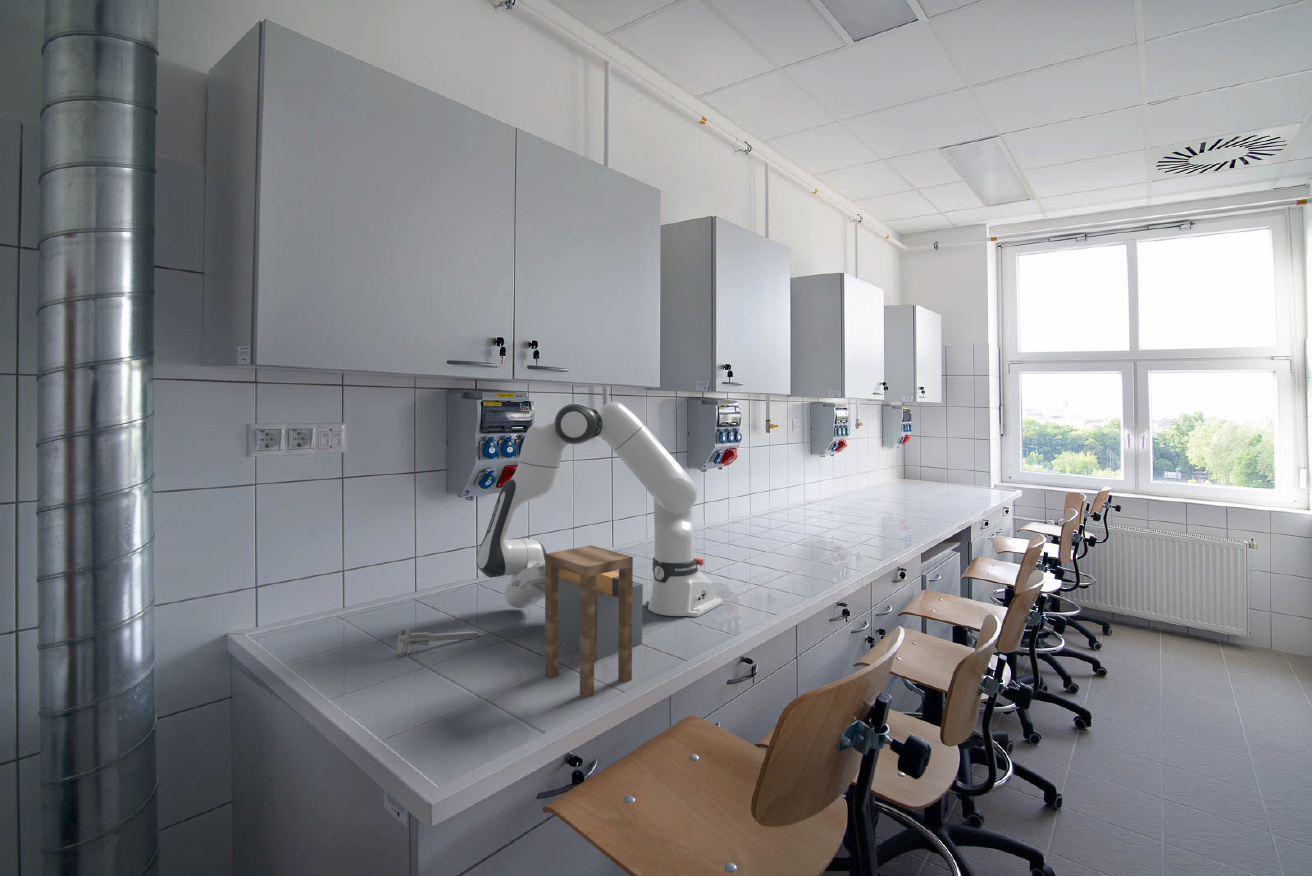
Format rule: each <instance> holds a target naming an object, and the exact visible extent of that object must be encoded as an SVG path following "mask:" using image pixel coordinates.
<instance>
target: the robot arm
mask: <svg viewBox="0 0 1312 876" xmlns="http://www.w3.org/2000/svg"><path fill="white" fill-rule="evenodd" d="M597 437H598V438H600V439H602V440H603V441H604V442H605V443H607V445H609V447H610V448H611V450H612V451H614V452H615V454H616V455H617V456H618V457H619V459H620V460H621V461H622V462H623V463H624V464H625V465H626V466H627V468H628V469H629V470H630V471H631V472H632V474H633V475H634V476H635V477H636V478H637V480H639V482H640V483H641V484H642V486H644V488H645V489H646V491H648V493H649V494H650V495H651V496H652V497H653V515H654V516H653V519H654V520H653V522H654V526H653V527H654V545H653V546H654V547H653V548H654V557H653V558H652V573H653V575H652V582H651V587H650V588H651V590H650V596H649V597H648V606H647V608H648V610H649V611H650V612H652V613H654V614H657V615H661V616H668V617H694V618H695V617H700V616H702V615H704V614H705V613H707V612H710V611H711V610H713V609H715V608H717V607H718V606H720V605H722V604H723V603H724V602H723V599H722V598H721V597H720V596H717V595H715V587H714V583H713V581H712V580H710V578H708V577H707V576H706V575H705V574H703V573H702V572H701V571H700V570H699V567H698V566H700V567H703V566H704V565H705V560H704V558H701V557H697V558H695V556H694V555H695V554H694V552H695V528H694V526H695V525H694V513H693V512H694V511H693V506H694V505H695V503H696V501H697V498H698V488H697V485H696V483H695V481H694V480H693V479H692V478H691V476H690V475H689V474H688V473H687V472H686V471H685V469H684V468H683V467H682V466H681V465H680V464H679V463H678V462H677V460H676V459H675V458H674V457H673V456H672V455H671V453H670V452H668V450H667V449H666V448H665V447H664V445H662V444H661V442H660V441H659V440H658V439H657V438H656V436H655V435H654V434H653V433H652V432H651V431H650V430H649V428H648V427H647V426H646V425H645V424H644V423H643V422H642V421H641V420H640V419H639V418H638V416H637V415H635V413H633V412H632V411H631V409H629V408H628V407H627V406H626V405H624V404H622V403H621V402H619V401H610V402H608V403H605V404H603V406H601V407H600V408H598V409H595V408H591V407H589V406H587V405H585V404H583V403H579V402H575V403H570V404H567V405H564V406H563V407H562V408H561V409H560V410H559V411H558V412H557V414H556V415H555V418H554V421H553V422H551V423H544V422H543V423H542V422H538V423H535V424H533V425H531V426H529V427H528V429H527V430H526V434H525V436H524V439H523V442H522V445H521V449H520V453H519V458H518V459H519V460H518V464H517V467H516V469H515V472H514V474H513V475H512V477H511V478H510V479H509V480H506V481H505V482H504V483H503V485H502V486H501V488H500V491H499V494H498V497H497V499H496V503H495V505H494V509H493V512H492V514H491V518H490V520H489V523H488V527H487V529H486V533H485V535H484V537H483V539H482V542H481V544H480V545H479V548H478V550H477V553H476V565H477V567H478V569H479V571H480V572H481V573H482V574H483V575H485V576H486V577H487V578H490V579H493V578H500V577H505V576H507V577H508V576H511V577H510V578H511V579H510V580H509V583H508V584H507V586H506V587H505V589H504V594H503V595H504V599H505V601H506V602H507V603H508V604H509V605H510V607H513V608H516V609H525V608H526V609H527V608H529V607H531V606H533V605H535V604H537V603H538V602H540V601H541V600H542V599H545V554H547V551H546V549H545V547H544V546H543V544H542V543H541V542H540V541H539V540H537V539H536V538H519V539H518V538H517V539H510V538H509V539H507V538H506V536H507V535H508V534H507V533H508V530H509V528H510V524H511V521H512V518H513V515H514V513H515V511H517V509H518V508H519V507H520V506H522V505H523V504H525V503H527V502H528V501H529V502H530V501H532V500H534V499H537V498H540V497H542V496H545V495H546V494H548V493H550V491H552V490H553V488H554V487H555V486H556V483H557V482H558V481H557V480H558V477H559V472H560V465H561V458H562V453H563V451H564V449H565V447H566V446H567V445H580V444H584V443H586V442H588V441H589V440H592V439H594V438H597ZM559 569H560V568H559ZM562 579H564V578H562V577H559V580H562Z"/></svg>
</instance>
